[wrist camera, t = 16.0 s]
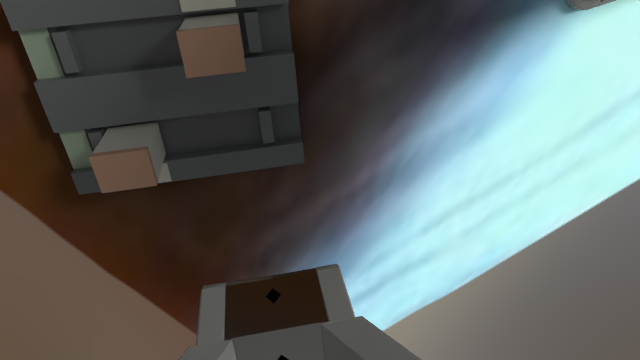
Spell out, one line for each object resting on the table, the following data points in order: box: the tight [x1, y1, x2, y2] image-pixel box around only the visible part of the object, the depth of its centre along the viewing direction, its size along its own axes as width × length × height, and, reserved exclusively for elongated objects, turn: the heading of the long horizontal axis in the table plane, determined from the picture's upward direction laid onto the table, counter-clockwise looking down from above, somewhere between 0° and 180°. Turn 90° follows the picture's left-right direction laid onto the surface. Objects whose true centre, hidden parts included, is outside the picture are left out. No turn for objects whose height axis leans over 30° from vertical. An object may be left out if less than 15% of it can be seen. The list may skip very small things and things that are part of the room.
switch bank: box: [0, 0, 305, 195], centre depth 37 cm, size 20×16×3 cm
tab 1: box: [88, 122, 166, 193], centre depth 36 cm, size 4×3×6 cm
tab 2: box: [176, 13, 246, 78], centre depth 32 cm, size 4×3×6 cm
